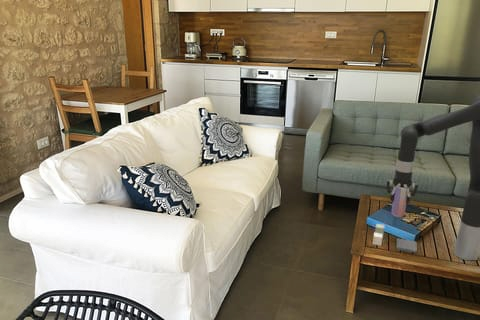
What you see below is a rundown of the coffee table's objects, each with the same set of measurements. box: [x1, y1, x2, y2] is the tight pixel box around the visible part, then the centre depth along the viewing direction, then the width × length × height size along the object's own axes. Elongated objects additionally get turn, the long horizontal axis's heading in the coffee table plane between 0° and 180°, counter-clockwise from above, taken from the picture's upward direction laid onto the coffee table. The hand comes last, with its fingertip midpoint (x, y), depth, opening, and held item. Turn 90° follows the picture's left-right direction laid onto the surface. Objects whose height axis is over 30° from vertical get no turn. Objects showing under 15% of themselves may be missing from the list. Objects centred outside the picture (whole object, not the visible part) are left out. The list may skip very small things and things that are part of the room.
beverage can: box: [391, 187, 408, 218], centre depth 185 cm, size 6×6×15 cm
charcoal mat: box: [396, 237, 418, 254], centre depth 189 cm, size 9×9×1 cm
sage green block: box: [374, 223, 385, 235], centre depth 200 cm, size 4×4×4 cm
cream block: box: [372, 231, 384, 246], centre depth 191 cm, size 4×4×4 cm
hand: (399, 201), depth 186 cm, fingers closed on beverage can, 6 cm apart
